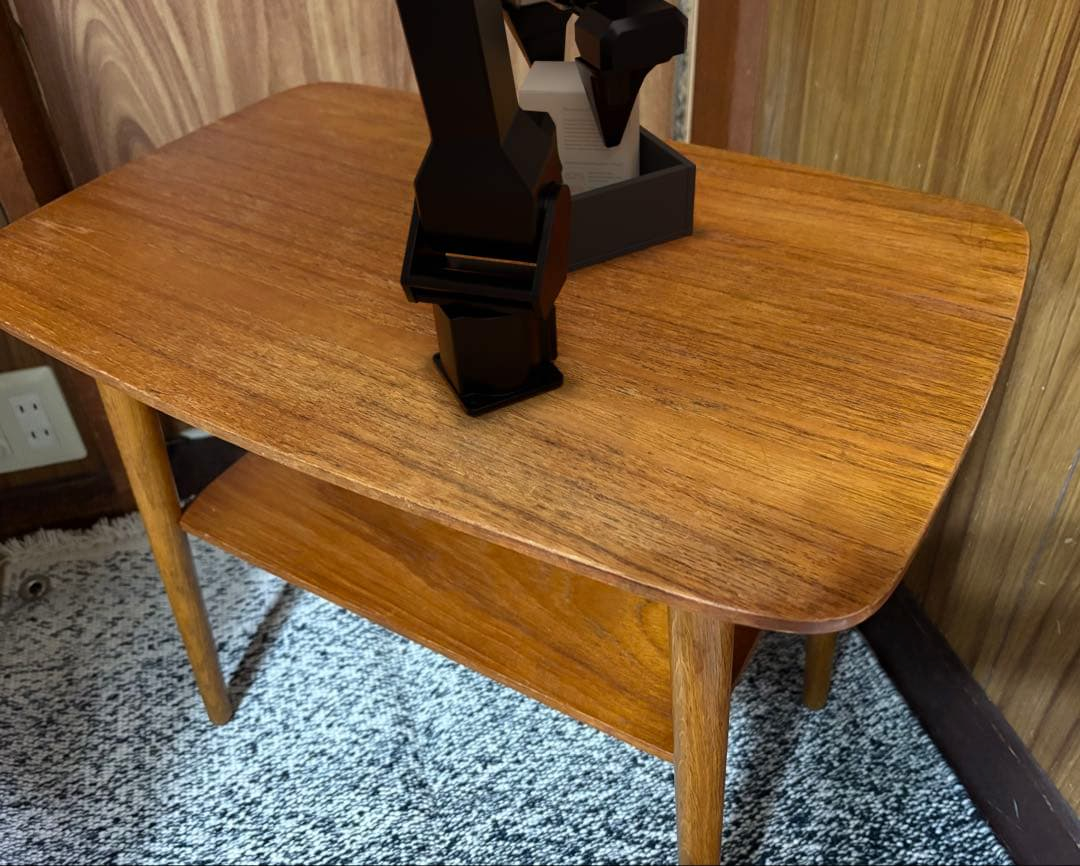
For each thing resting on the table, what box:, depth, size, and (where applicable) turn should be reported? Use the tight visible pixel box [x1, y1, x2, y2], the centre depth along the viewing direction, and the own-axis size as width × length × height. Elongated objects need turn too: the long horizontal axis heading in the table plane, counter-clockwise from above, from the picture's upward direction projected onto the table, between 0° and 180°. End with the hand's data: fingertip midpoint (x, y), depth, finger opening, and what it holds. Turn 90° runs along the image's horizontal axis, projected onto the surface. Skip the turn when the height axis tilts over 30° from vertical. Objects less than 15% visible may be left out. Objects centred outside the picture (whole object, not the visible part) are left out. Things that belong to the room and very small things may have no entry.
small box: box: [517, 60, 640, 196], centre depth 72 cm, size 8×6×10 cm
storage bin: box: [567, 123, 697, 274], centre depth 75 cm, size 11×13×6 cm
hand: (581, 122), depth 71 cm, fingers open, 9 cm apart
